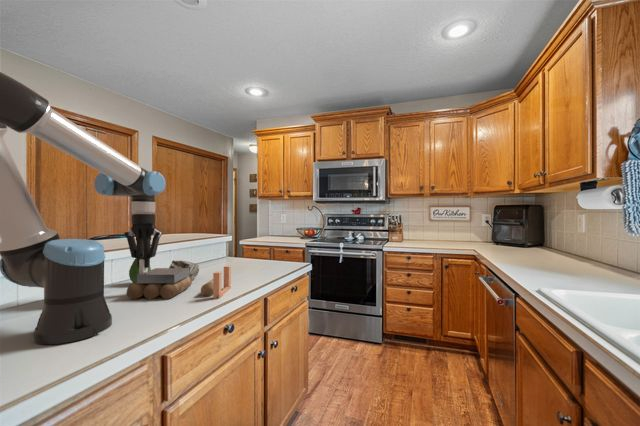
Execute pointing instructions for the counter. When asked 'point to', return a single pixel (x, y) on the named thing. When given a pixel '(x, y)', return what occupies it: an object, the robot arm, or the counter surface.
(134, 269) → the fruit
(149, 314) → the counter surface
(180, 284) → the brown bread rolls
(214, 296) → the wooden u-shaped block
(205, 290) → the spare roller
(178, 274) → the slab
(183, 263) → the rock
